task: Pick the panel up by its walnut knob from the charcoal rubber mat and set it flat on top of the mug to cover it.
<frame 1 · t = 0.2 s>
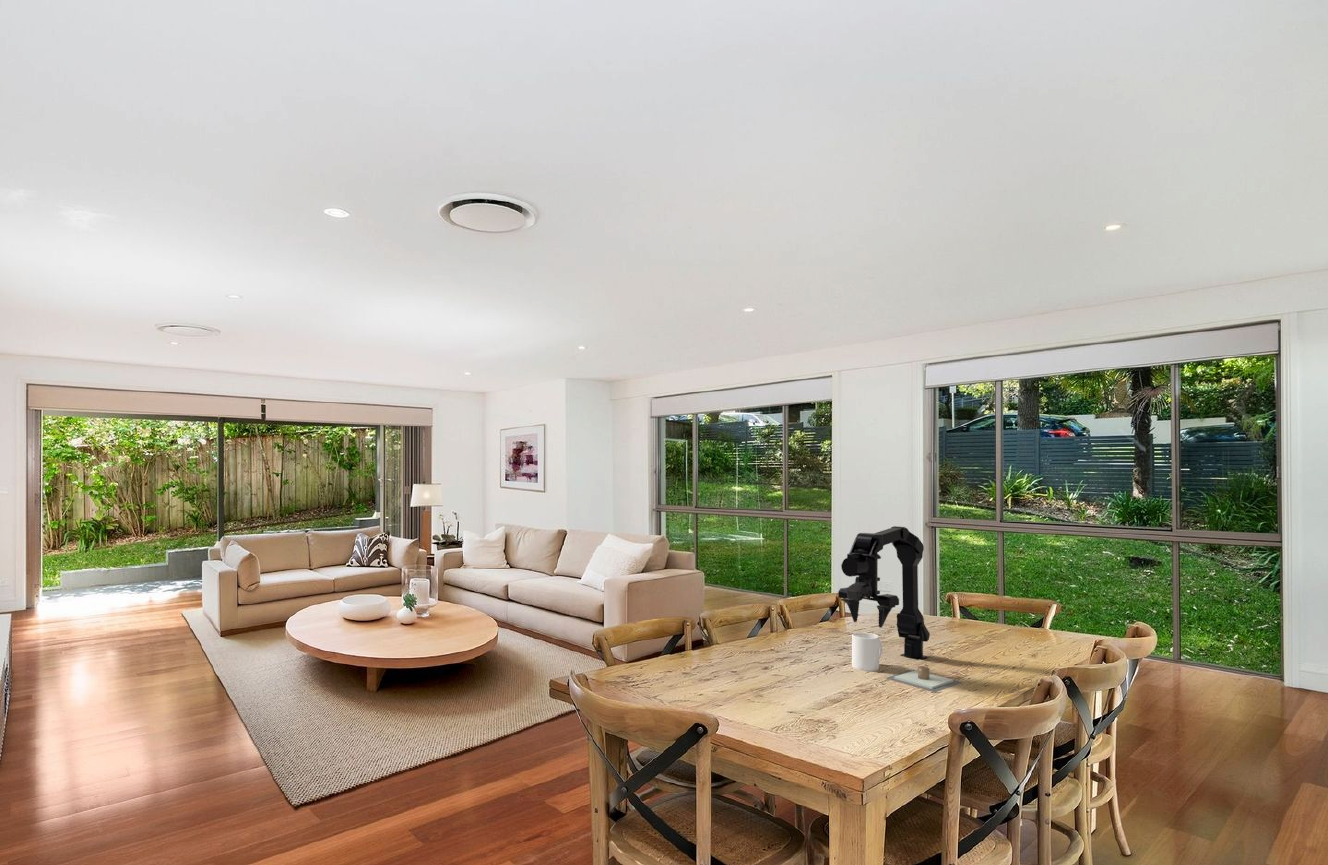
hand: (867, 624, 213), 14 cm above the table, fingers open, 9 cm apart
panel: (923, 680, 203), resting on mat
mat: (923, 681, 203), on the table
mug: (869, 668, 216), on the table
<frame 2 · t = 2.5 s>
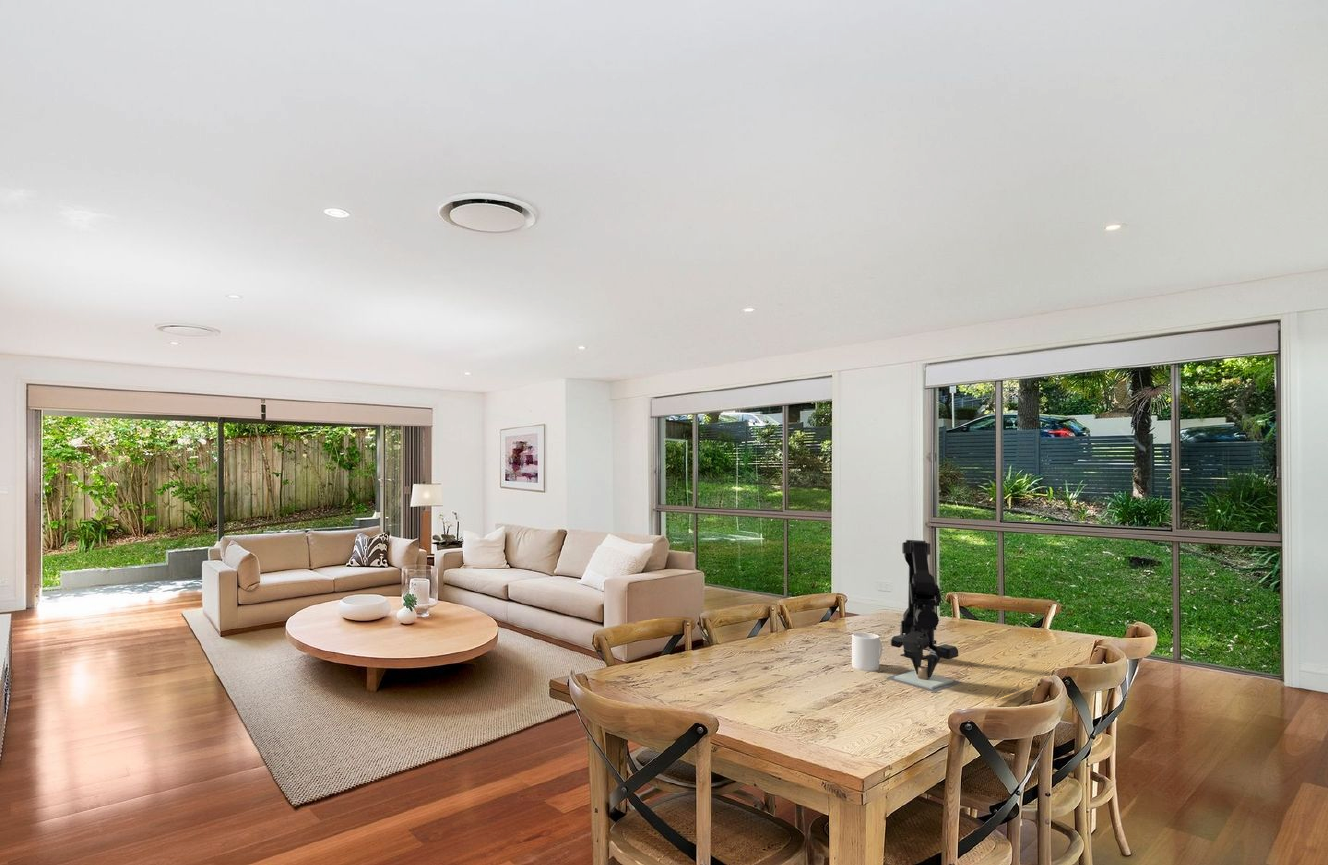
hand: (923, 675, 203), 2 cm above the table, fingers closed on panel, 3 cm apart
panel: (923, 680, 203), resting on mat, touching gripper
everything else where it was.
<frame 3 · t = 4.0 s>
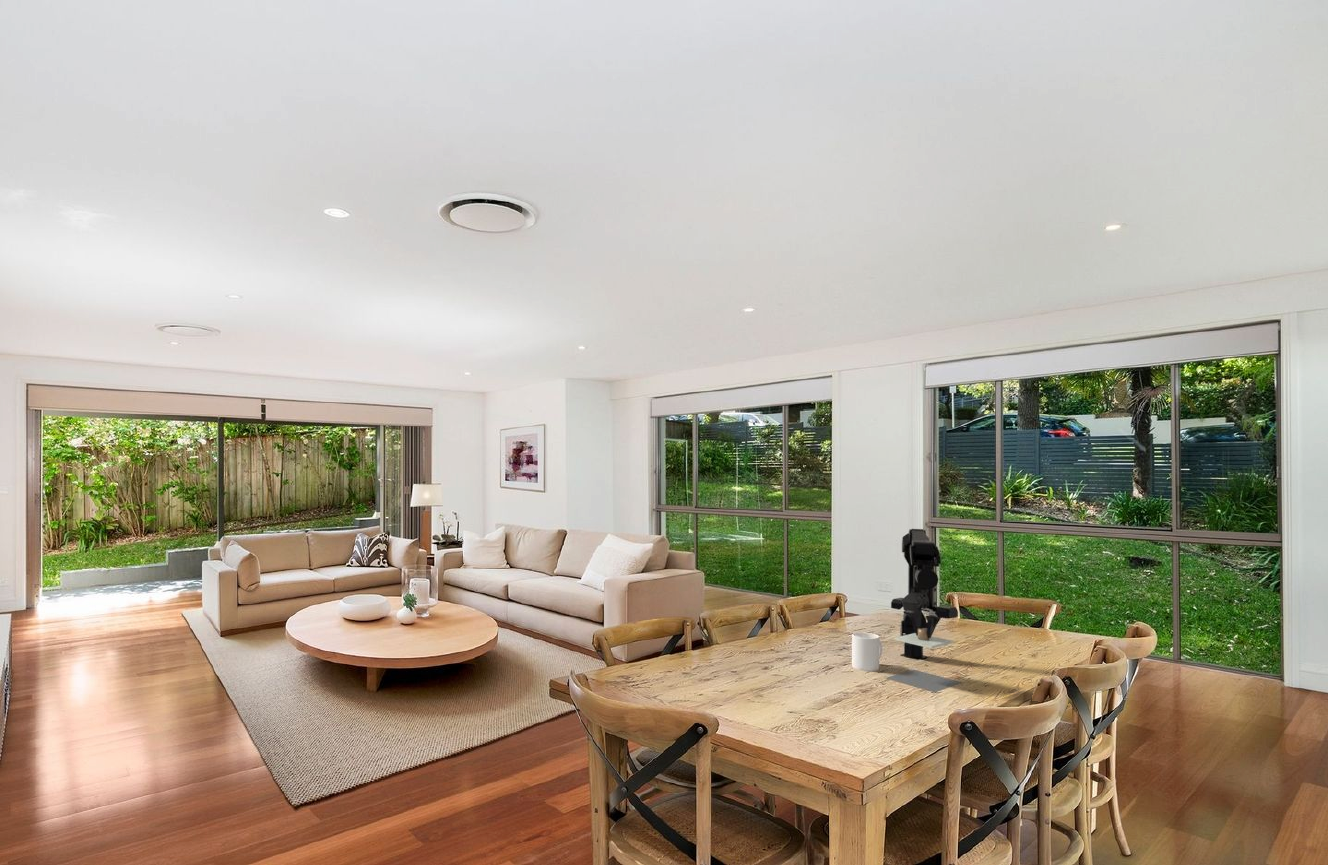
hand: (923, 637, 204), 13 cm above the table, fingers closed on panel, 3 cm apart
panel: (923, 641, 204), point 12 cm above the table, touching gripper
everything else where it was.
when the fingers open (12 cm above the table, at t = 5.7 s): panel stays where it is, resting on mug.
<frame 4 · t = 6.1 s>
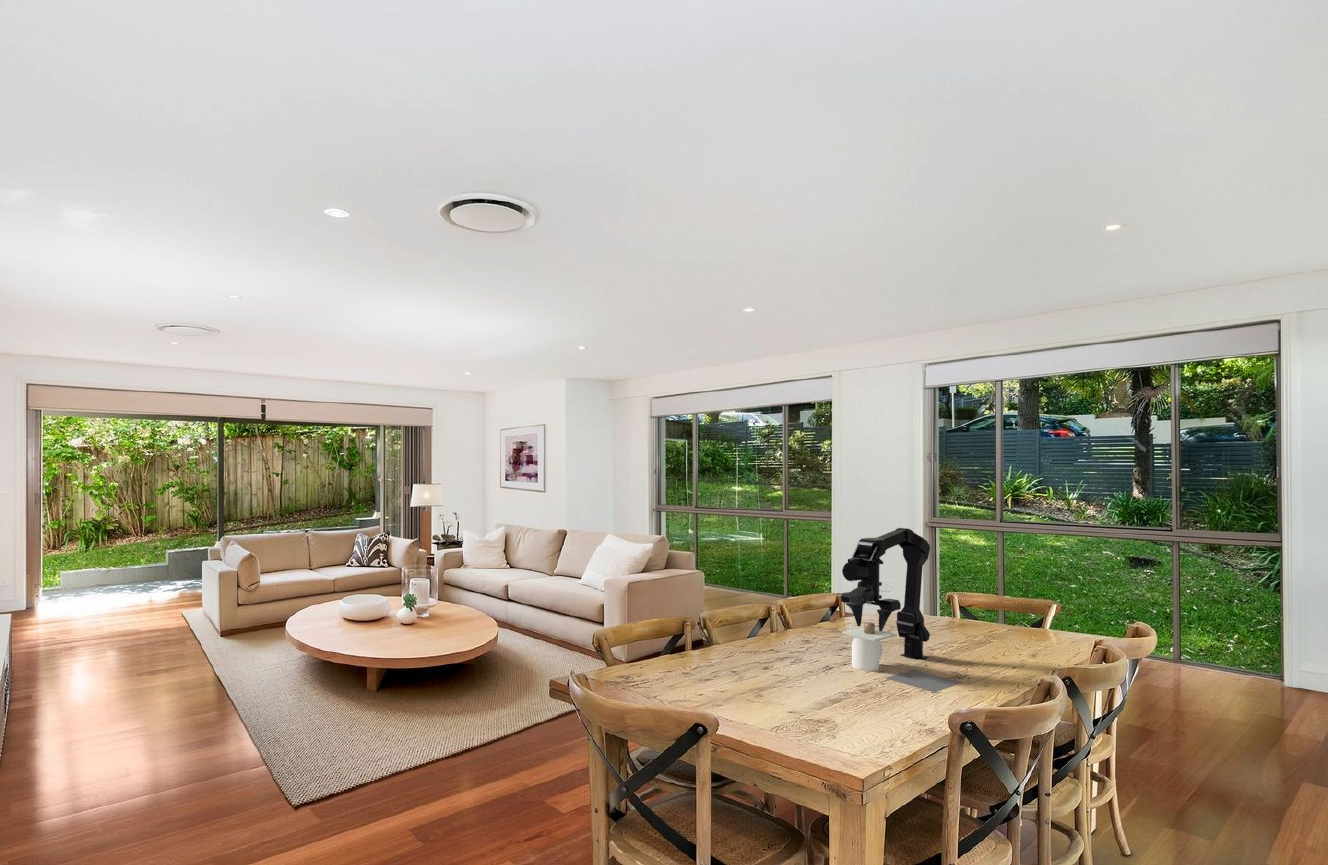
hand: (869, 628, 217), 12 cm above the table, fingers open, 8 cm apart
panel: (869, 634, 217), point 10 cm above the table, touching mug
mug: (869, 668, 216), on the table, touching panel
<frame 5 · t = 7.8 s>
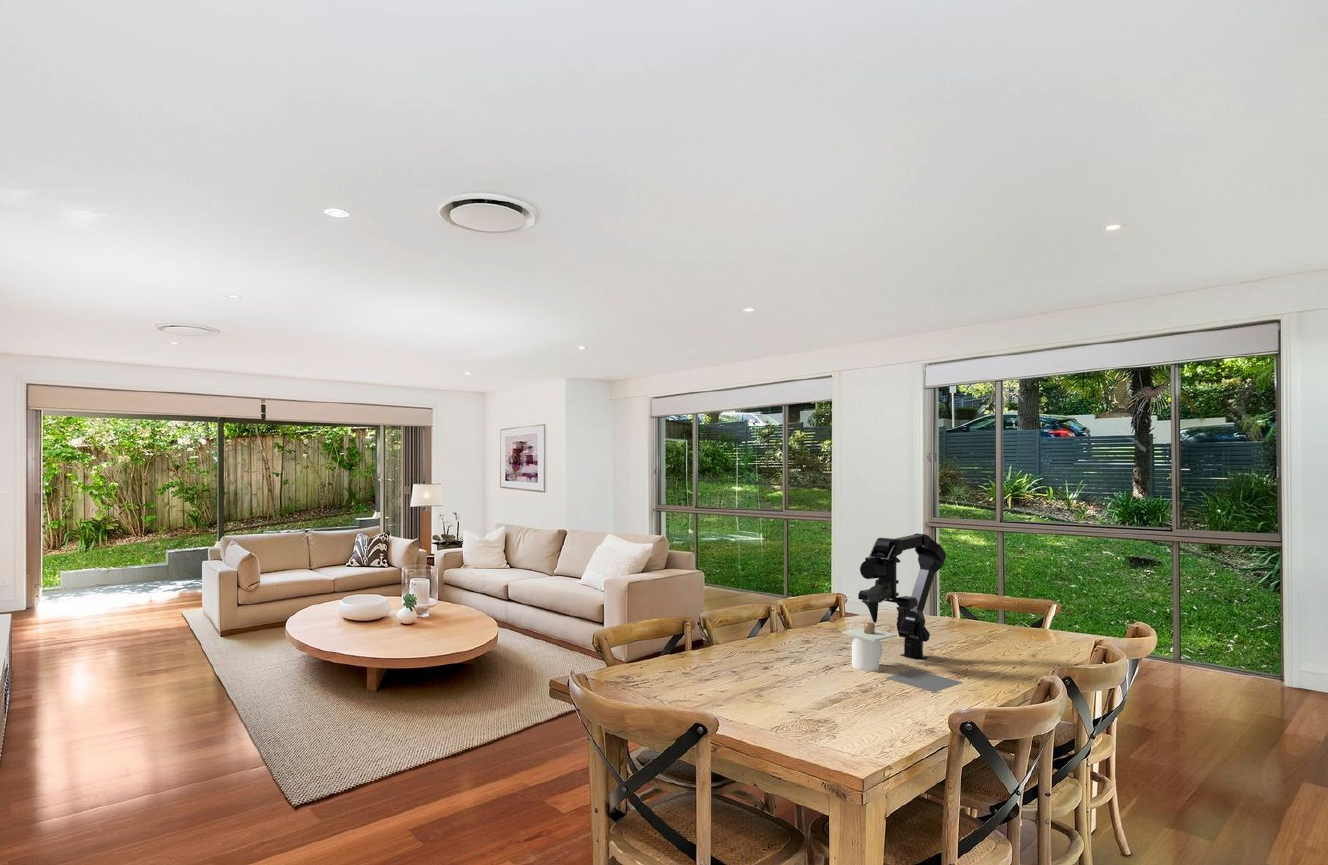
hand: (887, 625, 223), 12 cm above the table, fingers open, 9 cm apart
nothing on the table moved.
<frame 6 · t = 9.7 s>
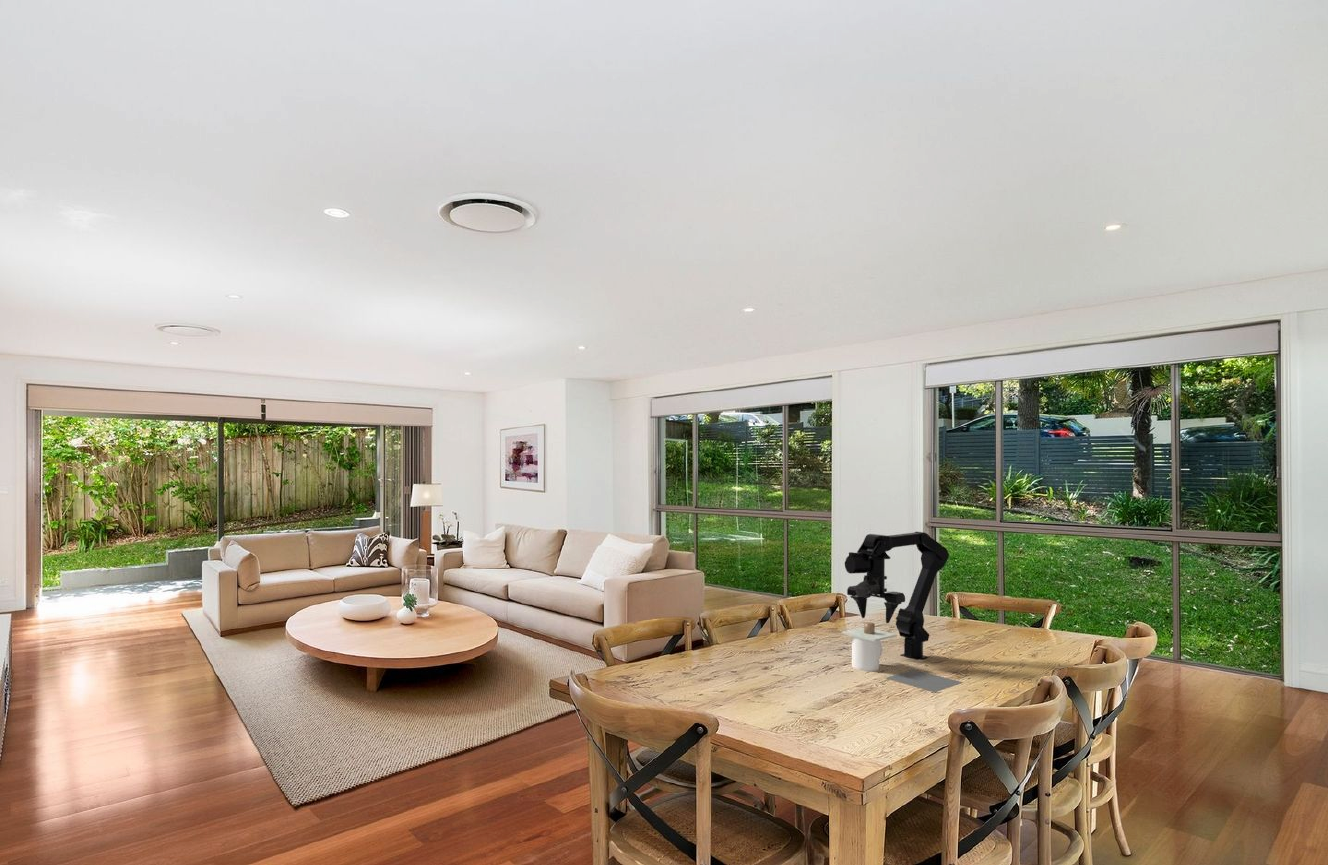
hand: (875, 620, 226), 13 cm above the table, fingers open, 9 cm apart
nothing on the table moved.
at the end: panel 0.3 cm off-centre on the mug, point 10.5 cm above the mug's base; panel tilted 0°; the gripper is holding nothing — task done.
